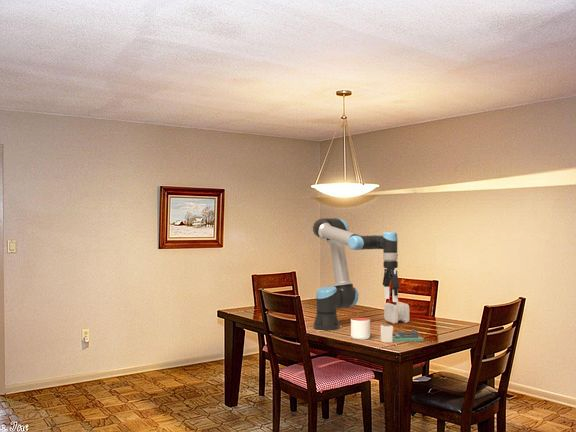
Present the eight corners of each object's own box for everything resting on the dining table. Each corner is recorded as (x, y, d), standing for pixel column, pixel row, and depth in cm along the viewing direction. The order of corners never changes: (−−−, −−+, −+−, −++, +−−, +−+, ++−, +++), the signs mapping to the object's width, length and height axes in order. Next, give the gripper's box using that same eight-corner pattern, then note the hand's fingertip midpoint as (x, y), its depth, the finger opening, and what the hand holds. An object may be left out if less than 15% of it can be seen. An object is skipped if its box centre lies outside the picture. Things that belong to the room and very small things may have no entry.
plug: (382, 342, 284) (382, 325, 284) (380, 340, 288) (380, 324, 288) (394, 342, 285) (393, 325, 285) (391, 340, 289) (391, 324, 289)
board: (393, 341, 285) (393, 333, 285) (385, 336, 299) (385, 328, 299) (423, 341, 287) (423, 332, 287) (414, 335, 301) (414, 327, 301)
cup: (368, 336, 299) (368, 317, 299) (371, 340, 289) (371, 320, 289) (349, 336, 299) (349, 317, 299) (352, 340, 289) (352, 321, 289)
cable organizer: (410, 324, 336) (410, 304, 336) (394, 324, 333) (394, 305, 333) (398, 319, 350) (398, 301, 351) (383, 320, 347) (383, 302, 348)
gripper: (405, 261, 287) (406, 303, 287) (389, 259, 312) (390, 297, 312) (391, 262, 286) (392, 303, 286) (376, 259, 311) (377, 297, 311)
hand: (390, 300), depth 299 cm, fingers open, 13 cm apart
